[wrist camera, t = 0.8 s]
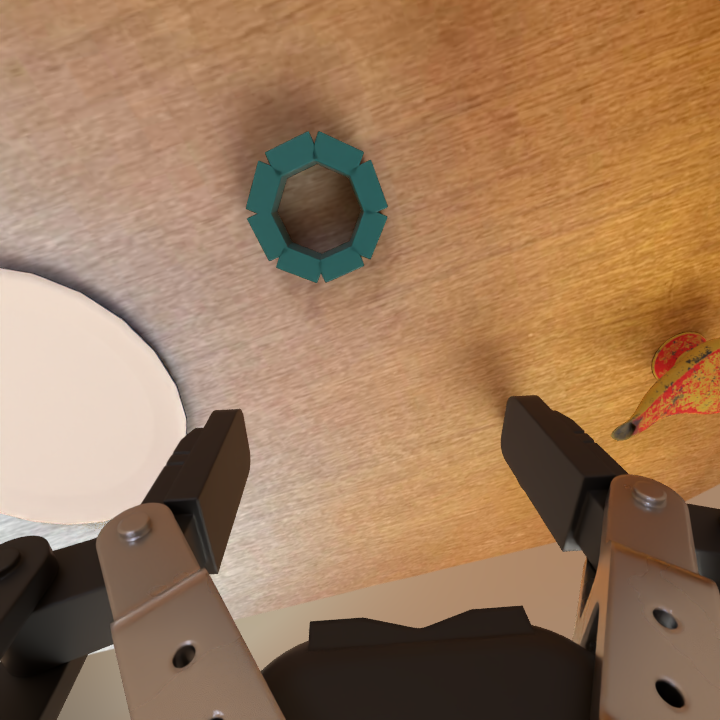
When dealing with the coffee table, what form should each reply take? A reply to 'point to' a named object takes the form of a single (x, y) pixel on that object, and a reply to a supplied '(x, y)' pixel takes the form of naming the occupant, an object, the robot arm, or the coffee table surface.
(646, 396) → the magic lamp
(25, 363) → the plate
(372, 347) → the coffee table surface
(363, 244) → the block ring
